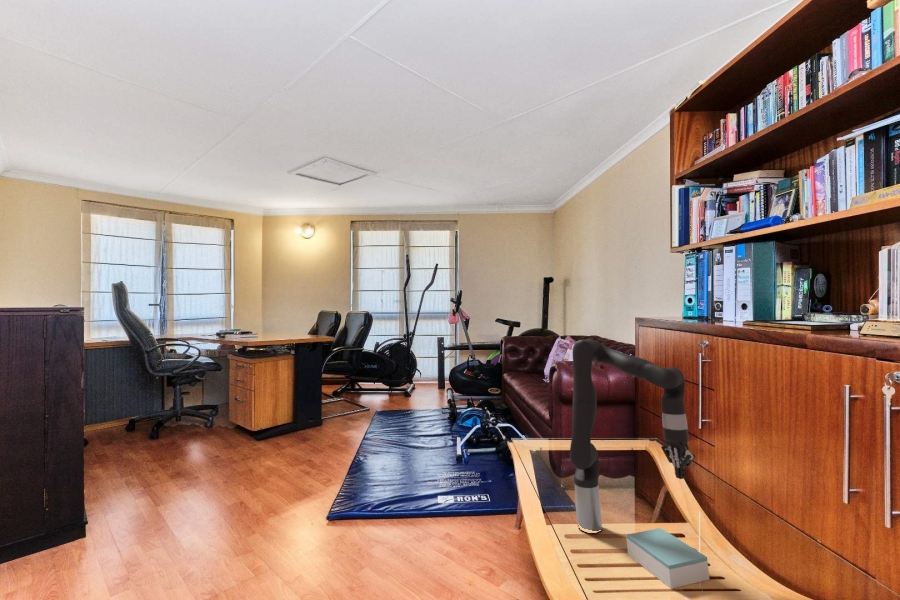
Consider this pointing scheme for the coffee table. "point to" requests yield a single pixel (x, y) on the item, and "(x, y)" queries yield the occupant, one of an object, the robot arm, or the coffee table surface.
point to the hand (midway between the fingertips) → (680, 478)
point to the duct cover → (666, 548)
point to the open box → (669, 576)
